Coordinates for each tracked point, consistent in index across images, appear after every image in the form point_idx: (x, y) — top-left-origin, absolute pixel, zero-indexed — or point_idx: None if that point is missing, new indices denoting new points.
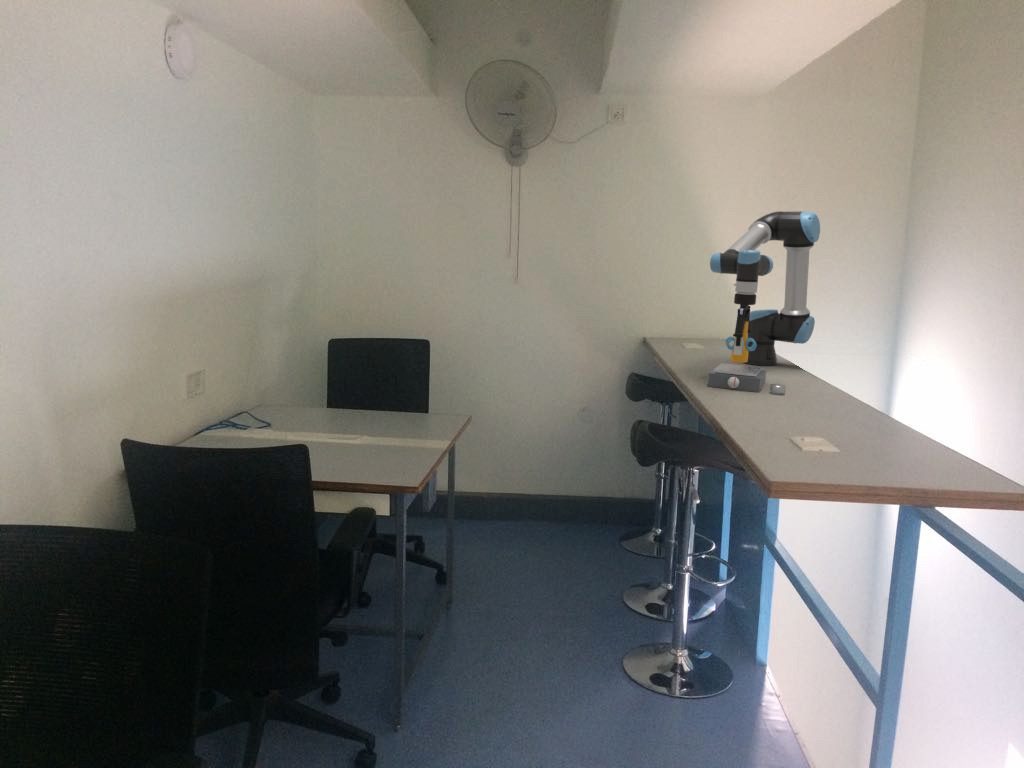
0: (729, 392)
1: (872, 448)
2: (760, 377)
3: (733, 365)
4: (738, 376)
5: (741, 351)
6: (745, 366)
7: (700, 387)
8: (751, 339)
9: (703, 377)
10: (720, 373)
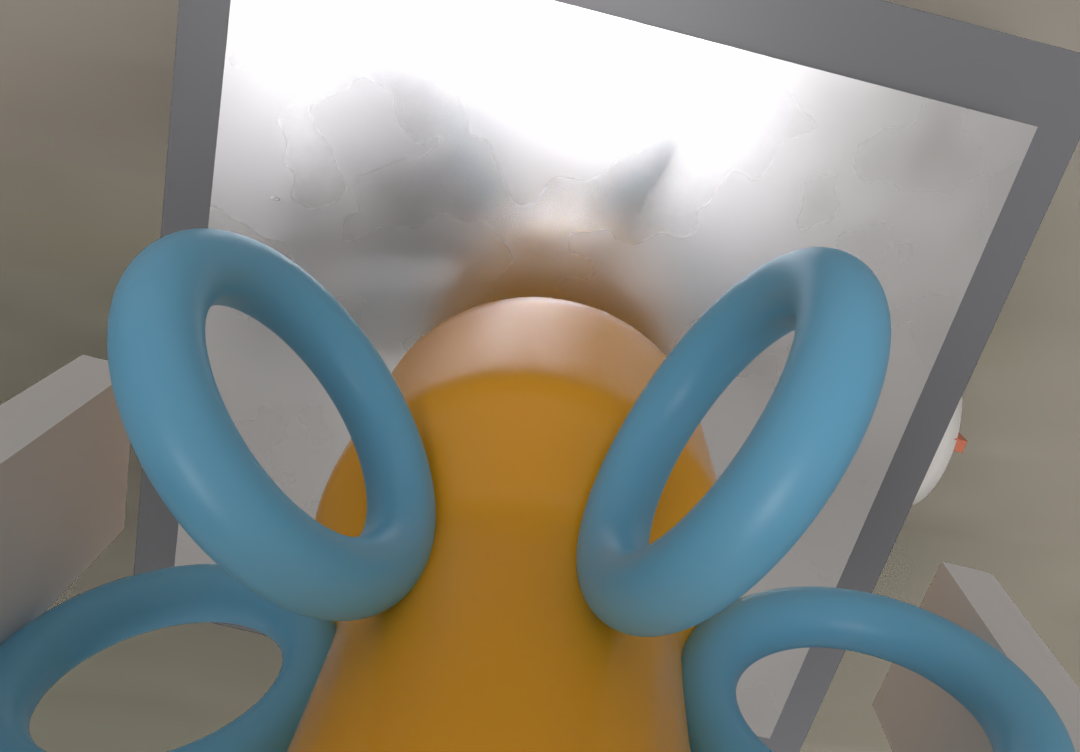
0: (1057, 444)
1: None
2: (1000, 46)
3: (295, 442)
4: (954, 408)
5: (1034, 634)
6: (295, 250)
7: (832, 706)
8: (746, 548)
9: (240, 635)
10: None
